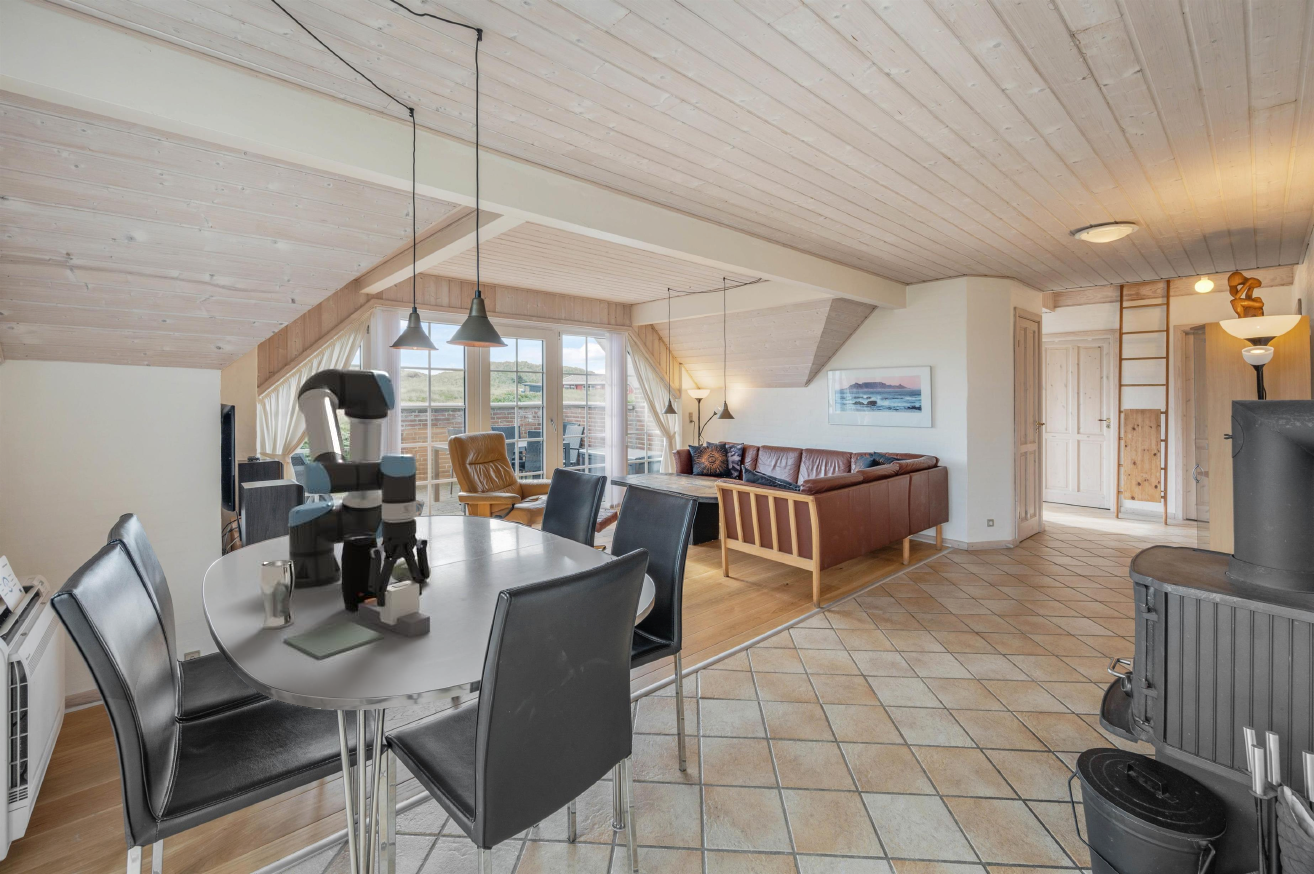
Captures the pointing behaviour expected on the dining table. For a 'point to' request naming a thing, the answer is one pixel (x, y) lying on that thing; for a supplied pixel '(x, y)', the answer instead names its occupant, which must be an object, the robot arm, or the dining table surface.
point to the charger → (402, 600)
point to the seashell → (403, 572)
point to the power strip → (405, 624)
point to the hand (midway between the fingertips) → (400, 614)
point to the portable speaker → (356, 569)
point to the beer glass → (277, 592)
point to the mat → (333, 639)
